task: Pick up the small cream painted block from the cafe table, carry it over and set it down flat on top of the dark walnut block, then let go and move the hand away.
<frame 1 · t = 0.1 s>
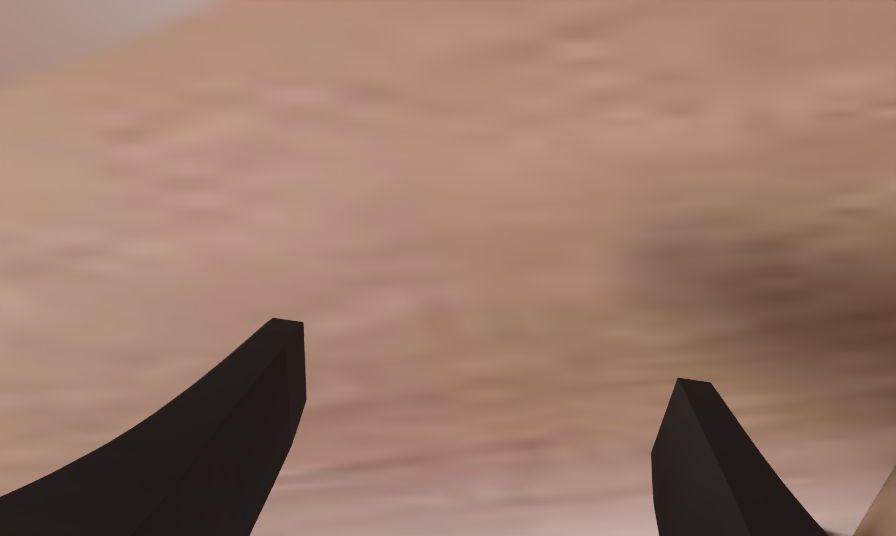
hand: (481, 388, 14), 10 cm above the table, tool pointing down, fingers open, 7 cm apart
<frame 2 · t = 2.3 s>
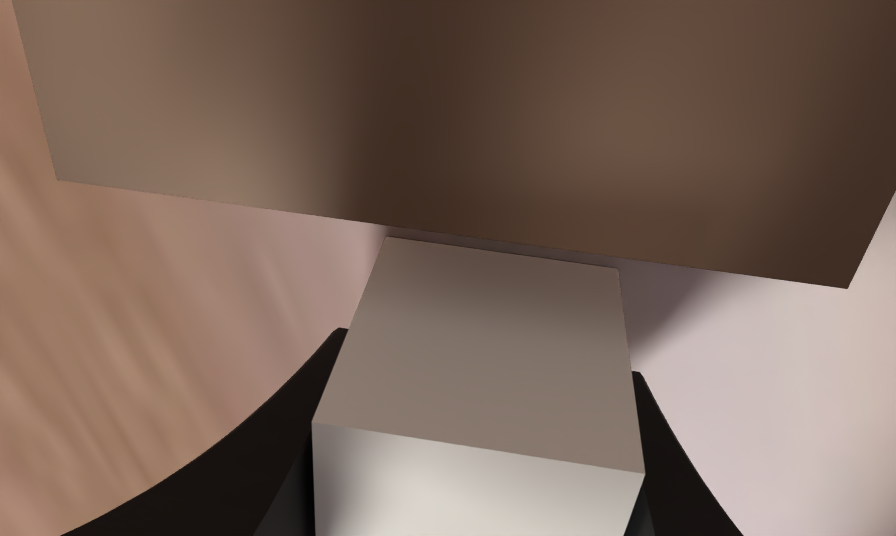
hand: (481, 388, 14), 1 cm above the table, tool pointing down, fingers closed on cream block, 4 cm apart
cream block: (487, 342, 15), on the table, touching gripper
when the fingers open (5 cm above the table, at t = 5.4 s): cream block drops 1 cm, resting on walnut block.
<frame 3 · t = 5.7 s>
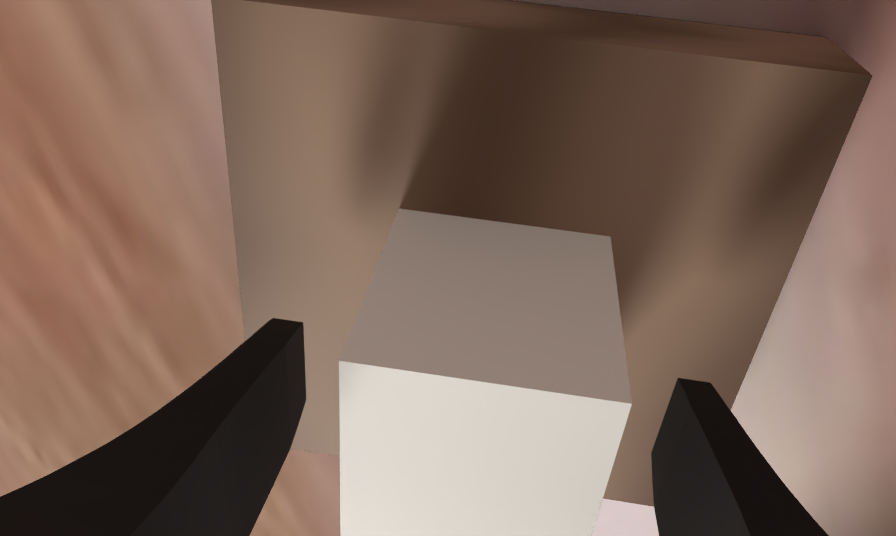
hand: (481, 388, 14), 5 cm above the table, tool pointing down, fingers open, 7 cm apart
cream block: (491, 307, 16), point 2 cm above the table, touching walnut block
walnut block: (500, 245, 18), on the table
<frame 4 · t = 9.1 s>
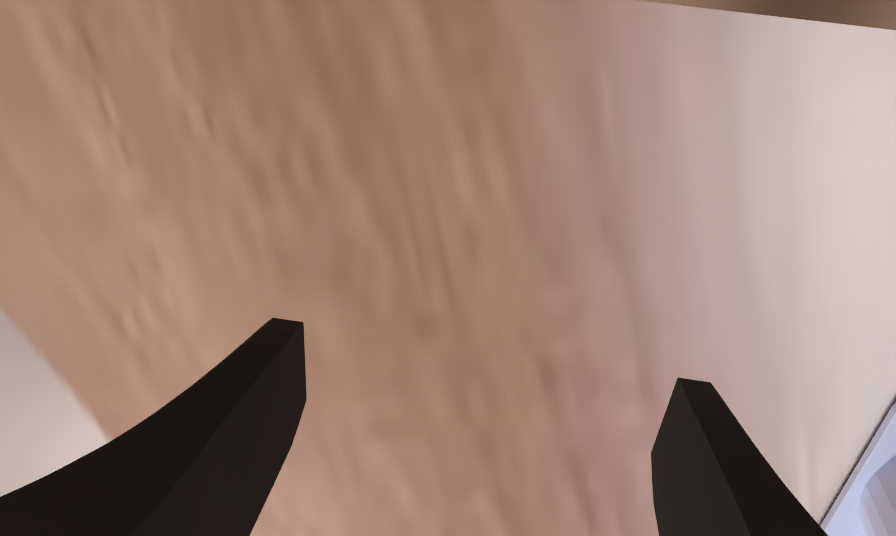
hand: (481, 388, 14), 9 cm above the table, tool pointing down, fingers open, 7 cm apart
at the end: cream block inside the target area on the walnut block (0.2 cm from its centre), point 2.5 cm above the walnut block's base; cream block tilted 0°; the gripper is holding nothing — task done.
